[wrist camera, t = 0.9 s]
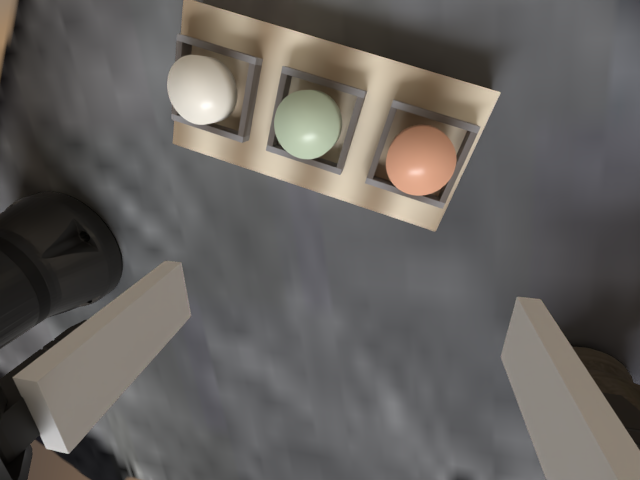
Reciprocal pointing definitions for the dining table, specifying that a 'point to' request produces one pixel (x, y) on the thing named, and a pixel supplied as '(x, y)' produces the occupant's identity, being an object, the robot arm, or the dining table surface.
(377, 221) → the dining table surface
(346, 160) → the button panel
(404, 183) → the terracotta button
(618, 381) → the beer stein
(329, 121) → the sage button
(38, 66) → the dining table surface
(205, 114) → the cream button
